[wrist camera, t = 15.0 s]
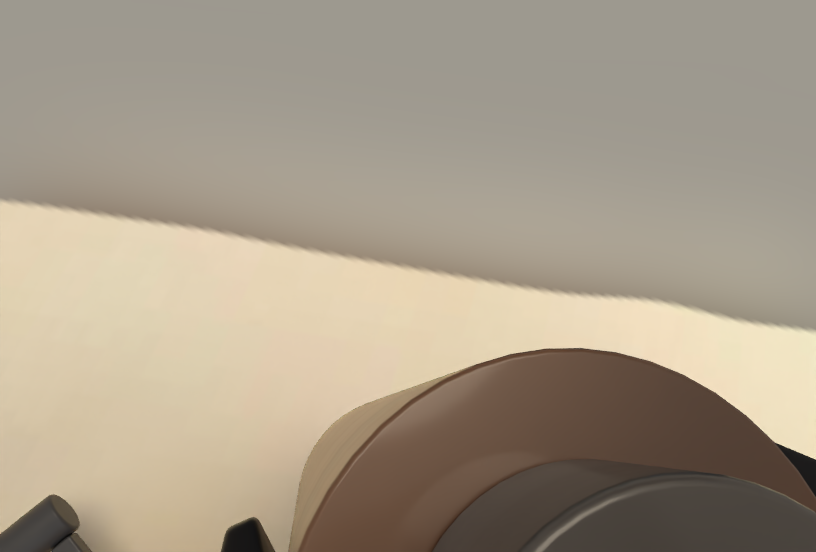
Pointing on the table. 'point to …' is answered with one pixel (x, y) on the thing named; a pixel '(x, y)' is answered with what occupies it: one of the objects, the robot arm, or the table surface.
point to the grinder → (552, 466)
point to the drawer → (45, 529)
